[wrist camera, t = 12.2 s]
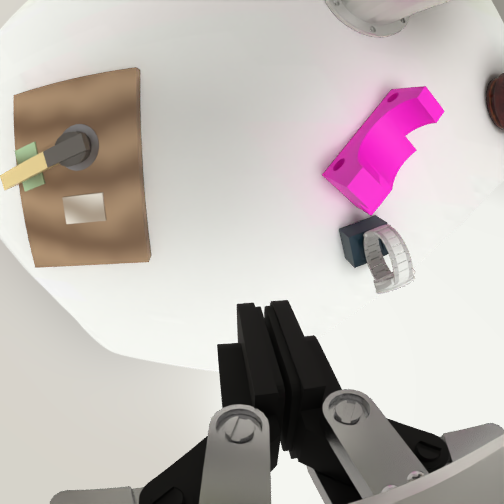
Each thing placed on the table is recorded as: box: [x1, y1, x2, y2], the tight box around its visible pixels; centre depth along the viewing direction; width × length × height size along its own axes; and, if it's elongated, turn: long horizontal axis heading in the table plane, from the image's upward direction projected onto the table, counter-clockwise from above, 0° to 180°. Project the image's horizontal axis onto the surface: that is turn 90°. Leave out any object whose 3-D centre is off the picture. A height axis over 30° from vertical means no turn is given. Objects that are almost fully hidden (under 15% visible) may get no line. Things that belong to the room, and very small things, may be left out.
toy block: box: [322, 86, 444, 216], centre depth 32 cm, size 15×6×8 cm, turn 142°
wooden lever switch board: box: [14, 67, 151, 267], centre depth 31 cm, size 22×16×2 cm
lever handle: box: [0, 131, 92, 190], centre depth 27 cm, size 12×4×4 cm, turn 104°
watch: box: [339, 215, 415, 294], centre depth 35 cm, size 6×8×11 cm
